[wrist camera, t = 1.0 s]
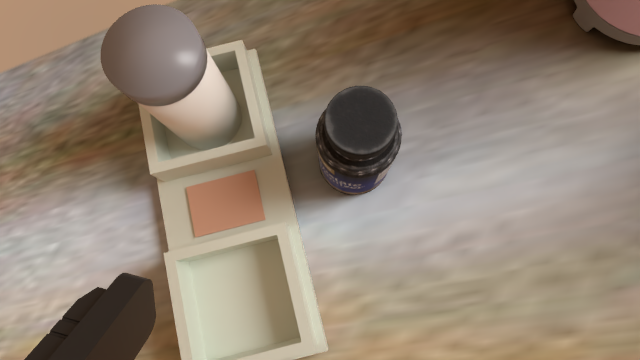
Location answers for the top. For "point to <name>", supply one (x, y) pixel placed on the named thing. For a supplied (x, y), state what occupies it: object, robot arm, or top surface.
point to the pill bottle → (357, 139)
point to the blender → (610, 18)
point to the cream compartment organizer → (217, 190)
